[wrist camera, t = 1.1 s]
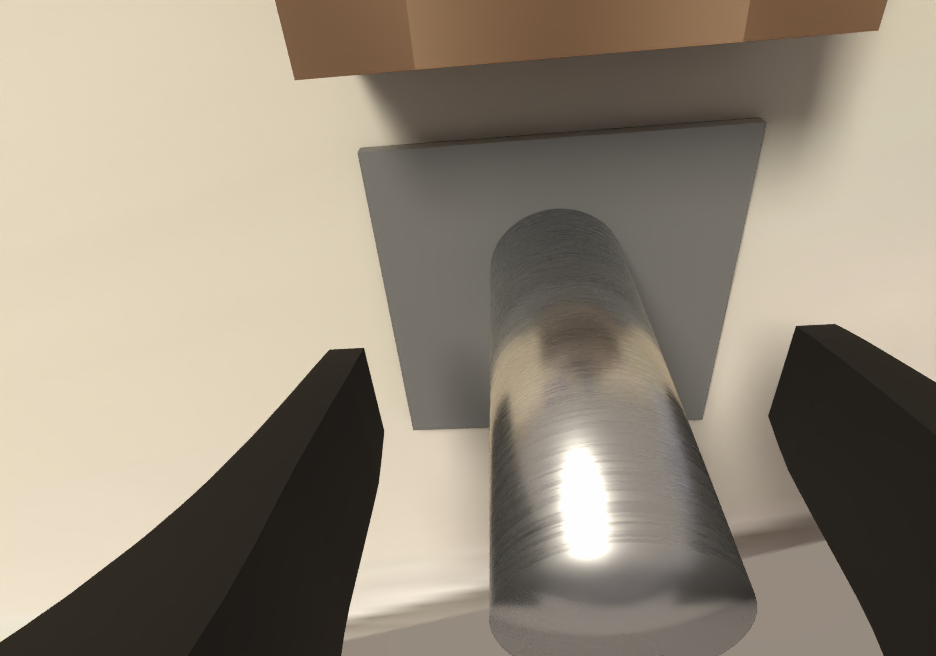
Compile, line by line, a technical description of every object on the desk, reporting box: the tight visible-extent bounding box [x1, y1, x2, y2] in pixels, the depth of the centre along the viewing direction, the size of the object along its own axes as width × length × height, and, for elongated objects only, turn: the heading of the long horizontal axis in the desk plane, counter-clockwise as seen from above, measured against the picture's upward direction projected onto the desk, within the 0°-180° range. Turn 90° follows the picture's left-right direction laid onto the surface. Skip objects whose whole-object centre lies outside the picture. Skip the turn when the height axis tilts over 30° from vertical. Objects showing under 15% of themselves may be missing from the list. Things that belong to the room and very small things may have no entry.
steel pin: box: [490, 209, 757, 656], centre depth 10 cm, size 3×3×8 cm
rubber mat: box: [358, 118, 767, 430], centre depth 14 cm, size 8×8×1 cm
